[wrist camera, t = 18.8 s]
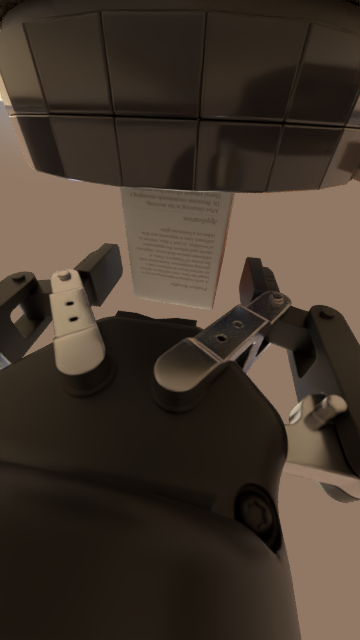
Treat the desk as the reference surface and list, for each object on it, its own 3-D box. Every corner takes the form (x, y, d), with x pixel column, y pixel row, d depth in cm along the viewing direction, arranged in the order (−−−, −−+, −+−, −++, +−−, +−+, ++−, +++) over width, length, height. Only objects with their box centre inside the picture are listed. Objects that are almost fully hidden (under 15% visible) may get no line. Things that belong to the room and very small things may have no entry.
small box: (252, 93, 12) (222, 259, 19) (161, 92, 13) (165, 251, 20) (261, 59, 6) (213, 313, 14) (97, 60, 7) (133, 300, 14)
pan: (102, 88, 16) (111, 146, 18) (-227, -31, 4) (-86, 173, 7) (318, 93, 15) (298, 156, 17) (719, -64, 3) (468, 212, 5)
